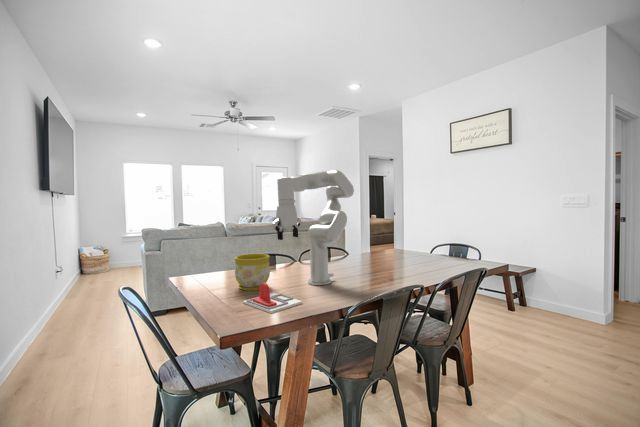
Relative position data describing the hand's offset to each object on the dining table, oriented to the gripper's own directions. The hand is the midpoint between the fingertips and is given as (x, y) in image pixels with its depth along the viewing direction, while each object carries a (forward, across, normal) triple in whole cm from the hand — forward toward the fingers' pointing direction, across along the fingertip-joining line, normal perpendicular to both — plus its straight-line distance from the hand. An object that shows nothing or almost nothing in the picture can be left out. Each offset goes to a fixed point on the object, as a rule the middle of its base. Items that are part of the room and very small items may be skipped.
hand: (288, 238), depth 161 cm
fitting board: (+26, +17, +7) cm, 32 cm away
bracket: (+25, +21, +7) cm, 33 cm away
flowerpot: (+27, +7, -22) cm, 35 cm away
